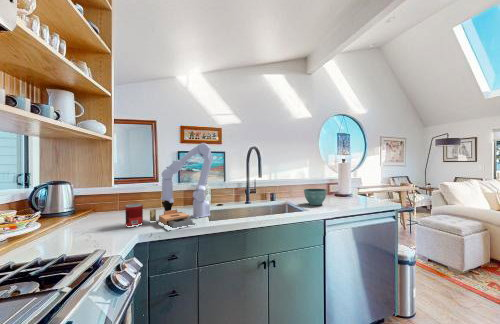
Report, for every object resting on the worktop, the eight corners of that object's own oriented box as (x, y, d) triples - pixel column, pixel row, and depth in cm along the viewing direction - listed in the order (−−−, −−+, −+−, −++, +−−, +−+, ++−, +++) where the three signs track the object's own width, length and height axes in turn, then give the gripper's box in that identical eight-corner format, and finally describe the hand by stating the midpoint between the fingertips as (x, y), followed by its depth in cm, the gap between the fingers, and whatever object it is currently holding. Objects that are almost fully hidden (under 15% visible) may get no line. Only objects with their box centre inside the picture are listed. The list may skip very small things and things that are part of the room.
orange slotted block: (181, 217, 122) (181, 208, 122) (189, 220, 114) (188, 211, 114) (159, 221, 114) (158, 212, 115) (165, 225, 106) (165, 215, 106)
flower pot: (299, 203, 161) (299, 189, 161) (316, 201, 167) (315, 187, 168) (314, 207, 146) (314, 191, 146) (332, 205, 153) (331, 189, 153)
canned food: (146, 223, 114) (145, 203, 114) (134, 228, 107) (134, 206, 107) (134, 223, 116) (134, 203, 116) (122, 227, 109) (121, 205, 109)
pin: (155, 221, 119) (154, 208, 119) (156, 222, 117) (156, 209, 117) (149, 222, 117) (149, 209, 117) (150, 223, 115) (150, 210, 115)
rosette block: (182, 218, 123) (182, 213, 123) (196, 225, 109) (196, 219, 109) (157, 223, 114) (156, 218, 114) (168, 231, 100) (168, 225, 100)
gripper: (156, 189, 125) (156, 213, 125) (164, 191, 114) (164, 217, 113) (168, 188, 129) (169, 211, 129) (177, 190, 118) (177, 215, 118)
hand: (167, 214), depth 122 cm, fingers closed
